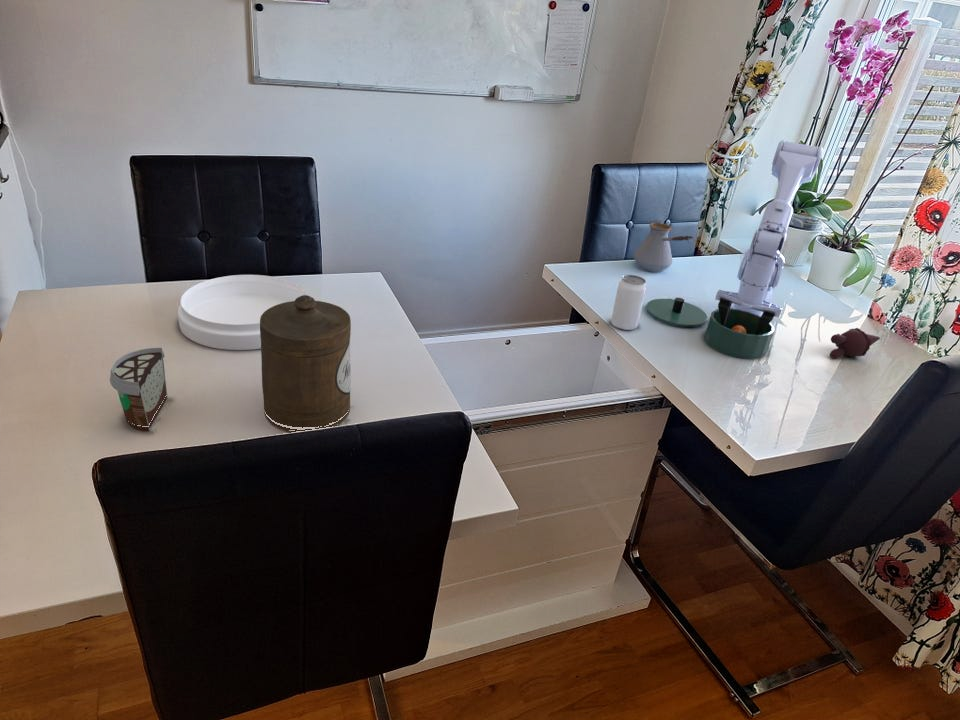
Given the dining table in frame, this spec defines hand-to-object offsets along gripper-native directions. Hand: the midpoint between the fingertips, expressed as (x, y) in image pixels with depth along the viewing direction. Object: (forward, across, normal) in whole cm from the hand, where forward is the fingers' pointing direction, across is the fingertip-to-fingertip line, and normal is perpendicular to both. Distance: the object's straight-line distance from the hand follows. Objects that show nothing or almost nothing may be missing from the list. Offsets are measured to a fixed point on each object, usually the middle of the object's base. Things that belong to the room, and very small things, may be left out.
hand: (738, 334), depth 158 cm
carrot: (-1, -2, 0) cm, 2 cm away
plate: (+3, -92, -65) cm, 113 cm away
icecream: (+3, +24, +14) cm, 28 cm away
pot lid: (+2, -16, +6) cm, 18 cm away
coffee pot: (+3, -29, +32) cm, 43 cm away
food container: (+2, -79, -101) cm, 128 cm away
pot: (+2, 0, 0) cm, 2 cm away
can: (+3, -25, -9) cm, 27 cm away
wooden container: (+3, -58, -83) cm, 101 cm away
